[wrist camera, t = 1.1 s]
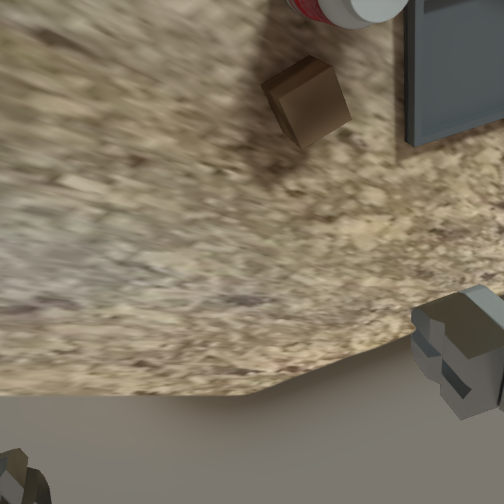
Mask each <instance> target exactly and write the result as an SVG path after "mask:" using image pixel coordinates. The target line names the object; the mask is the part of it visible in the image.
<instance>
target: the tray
mask: <svg viewBox="0 0 504 504" xmlns="http://www.w3.org/2000/svg"><path fill="white" fill-rule="evenodd" d="M404 92H405V142H407V143H408V144H410V145H412V146H413V147H417V146H420V145H423V144H426V143H429V142H432V141H435V140H438V139H441V138H444V137H447V136H451V135H454V134H457V133H460V132H463V131H466V130H469V129H472V128H475V127H478V126H481V125H484V124H487V123H491V122H494V121H497V120H500V119H503V118H504V0H408V2H407V4H406V5H405V7H404Z"/></svg>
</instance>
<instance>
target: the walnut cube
mask: <svg viewBox="0 0 504 504" xmlns="http://www.w3.org/2000/svg"><path fill="white" fill-rule="evenodd" d="M261 87H262V89H263V91H264V93H265V95H266V97H267V99H268V101H269V104H270V106H271V108H272V110H273V112H274V114H275V116H276V118H277V120H278V123H279V125H280V127H281V129H282V131H283V133H285V134H286V135H287V136H288V137H289V138H290V139H291V140H292V141H293V142H294V143H295V144H296V145H297V146H298V147H299V148H300V149H301V150H302V149H304V148H306V147H307V146H309V145H311V144H312V143H314V142H315V141H317V140H319V139H320V138H322V137H324V136H325V135H327V134H329V133H330V132H332V131H334V130H335V129H337V128H339V127H340V126H342V125H344V124H345V123H347V122H348V121H350V120H352V119H351V116H350V113H349V110H348V108H347V105H346V102H345V99H344V96H343V94H342V91H341V88H340V85H339V83H338V80H337V77H336V74H335V71H334V69H333V66H331V65H329V64H327V63H325V62H323V61H321V60H319V59H316V58H314V57H312V56H310V55H309V56H307V57H305V58H304V59H302V60H301V61H299V62H297V63H296V64H294V65H292V66H291V67H289V68H288V69H286V70H284V71H283V72H281V73H279V74H278V75H276V76H275V77H273V78H271V79H270V80H268V81H266V82H265V83H263V84H262V85H261Z"/></svg>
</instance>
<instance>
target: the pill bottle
mask: <svg viewBox="0 0 504 504" xmlns="http://www.w3.org/2000/svg"><path fill="white" fill-rule="evenodd" d="M286 1H287V3H288V4H289V6H290V7H291V8H292V9H293V10H294V11H295V12H296V13H298V14H299V15H301V16H303V17H306V18H309V19H313V20H316V21H320V22H323V23H327V24H330V25H334V26H338V27H341V28H345V29H361V28H364V27H367V26H370V25H372V24H373V23H381V22H385V21H388V20H390V19H392V18H393V17H395V16H396V15H397V14H398V13H399V12H400V11H401V10H402V9H403V8H404V7H405V5H406V4H407V2H408V0H286Z"/></svg>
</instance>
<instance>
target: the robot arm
mask: <svg viewBox="0 0 504 504" xmlns="http://www.w3.org/2000/svg"><path fill="white" fill-rule="evenodd" d="M411 322H412V323H413V324H414V326H415V327H416V330H415V331H414V333H413V334H412V336H411V348H412V352H413V355H414V358H415V361H416V362H417V364H418V366H419V368H420V369H421V371H422V372H423V373H424V375H425V376H426V377H427V378H428V379H430V380H433V381H435V382H437V383H440V395H441V396H442V397H443V399H444V400H445V401H446V403H447V404H448V405H449V406H450V408H451V409H452V410H453V411H454V413H455V414H456V415H457V416H458V418H459V419H460V420H463V419H466V418H469V417H471V416H474V415H477V414H480V413H483V412H485V411H488V410H491V409H494V408H497V407H499V409H500V410H502V411H504V301H503V300H502V299H501V298H499V297H498V296H497V295H496V294H495V293H493V292H492V291H491V290H490V289H489V288H487V287H486V286H484V285H481V284H479V285H476V286H473V287H470V288H467V289H465V290H462V291H459V292H457V293H453V294H450V295H447V296H444V297H442V298H439V299H436V300H433V301H431V302H428V303H425V304H422V305H420V306H417V307H414V309H413V311H412V313H411ZM27 465H28V456H27V455H26V454H25V453H24V452H23V451H22V450H21V449H20V448H17V449H12V450H9V451H6V452H3V453H0V504H52V502H51V495H50V488H49V486H48V483H47V481H46V479H45V477H44V475H43V474H42V473H41V472H40V471H39V470H37V469H33V468H29V467H27Z"/></svg>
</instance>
